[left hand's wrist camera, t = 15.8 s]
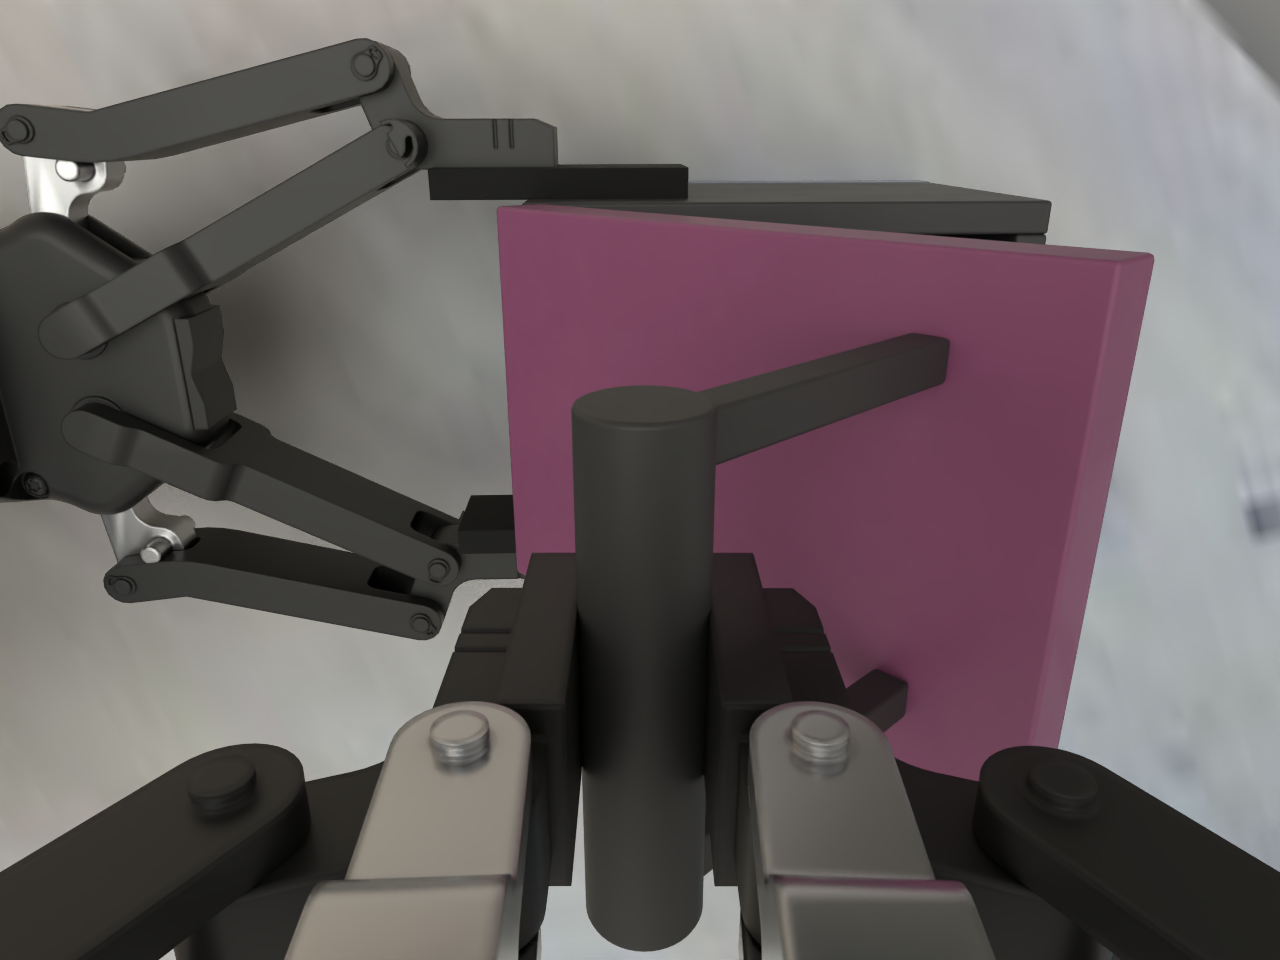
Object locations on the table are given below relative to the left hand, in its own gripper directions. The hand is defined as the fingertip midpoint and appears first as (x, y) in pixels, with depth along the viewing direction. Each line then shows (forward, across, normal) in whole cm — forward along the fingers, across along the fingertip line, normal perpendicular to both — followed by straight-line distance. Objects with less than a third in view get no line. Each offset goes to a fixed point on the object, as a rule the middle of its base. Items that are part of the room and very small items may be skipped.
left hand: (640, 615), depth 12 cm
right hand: (+15, -1, 0) cm, 15 cm away
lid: (+6, -2, 0) cm, 7 cm away
